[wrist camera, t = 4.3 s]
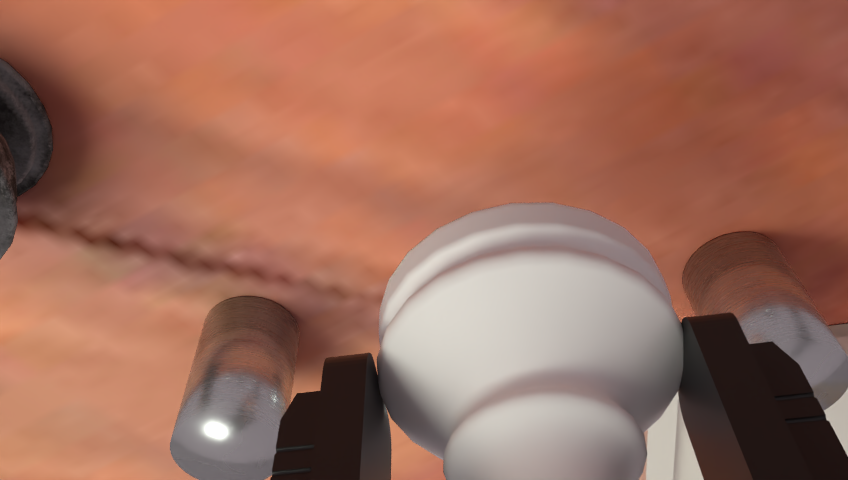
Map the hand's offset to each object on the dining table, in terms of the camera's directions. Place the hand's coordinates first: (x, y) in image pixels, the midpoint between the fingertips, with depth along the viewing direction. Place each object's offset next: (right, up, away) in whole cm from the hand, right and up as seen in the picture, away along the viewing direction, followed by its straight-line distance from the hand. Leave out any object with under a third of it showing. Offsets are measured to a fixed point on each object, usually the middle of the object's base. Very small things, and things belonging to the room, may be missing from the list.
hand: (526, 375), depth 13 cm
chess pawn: (0, +1, +1) cm, 2 cm away
